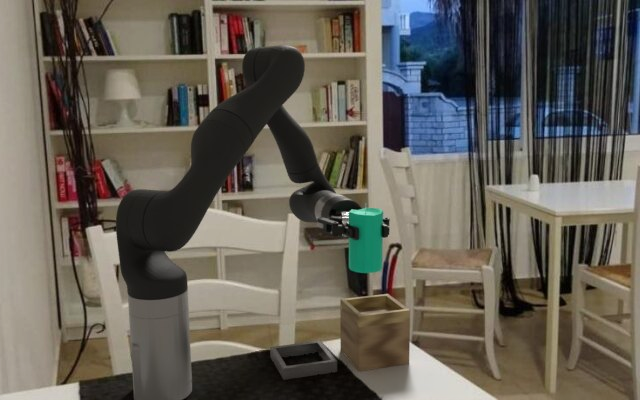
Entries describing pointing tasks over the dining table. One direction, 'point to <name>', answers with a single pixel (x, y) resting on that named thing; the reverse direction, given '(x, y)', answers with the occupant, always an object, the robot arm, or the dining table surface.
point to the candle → (366, 240)
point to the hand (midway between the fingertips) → (371, 233)
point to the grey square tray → (307, 368)
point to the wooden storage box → (375, 331)
